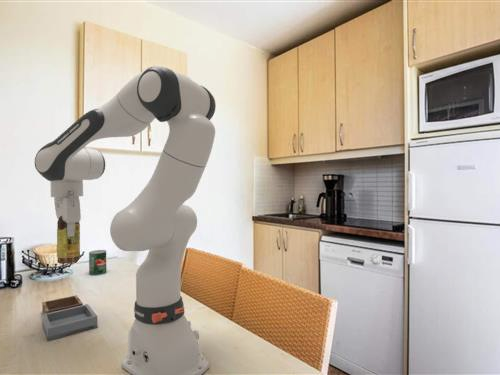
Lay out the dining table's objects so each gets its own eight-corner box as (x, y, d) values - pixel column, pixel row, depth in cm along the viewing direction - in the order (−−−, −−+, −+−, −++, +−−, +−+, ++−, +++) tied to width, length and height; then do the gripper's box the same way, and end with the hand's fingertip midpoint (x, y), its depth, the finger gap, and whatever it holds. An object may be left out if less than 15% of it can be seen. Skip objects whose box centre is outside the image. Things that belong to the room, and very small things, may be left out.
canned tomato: (101, 275, 152) (101, 253, 152) (85, 275, 152) (85, 253, 152) (109, 271, 160) (109, 249, 160) (94, 271, 160) (94, 249, 160)
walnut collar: (82, 313, 107) (82, 303, 106) (46, 322, 100) (46, 311, 100) (76, 304, 115) (76, 295, 115) (42, 312, 108) (42, 302, 108)
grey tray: (97, 327, 96) (97, 316, 96) (47, 341, 88) (47, 328, 88) (87, 314, 106) (87, 304, 106) (42, 325, 98) (42, 314, 98)
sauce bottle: (69, 264, 94) (68, 199, 94) (52, 264, 95) (50, 199, 95) (85, 259, 100) (83, 198, 100) (68, 259, 101) (67, 198, 101)
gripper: (85, 190, 91) (86, 237, 91) (72, 191, 107) (73, 231, 107) (61, 191, 87) (62, 240, 87) (51, 191, 103) (52, 233, 103)
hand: (68, 235), depth 97 cm, fingers closed on sauce bottle, 6 cm apart
